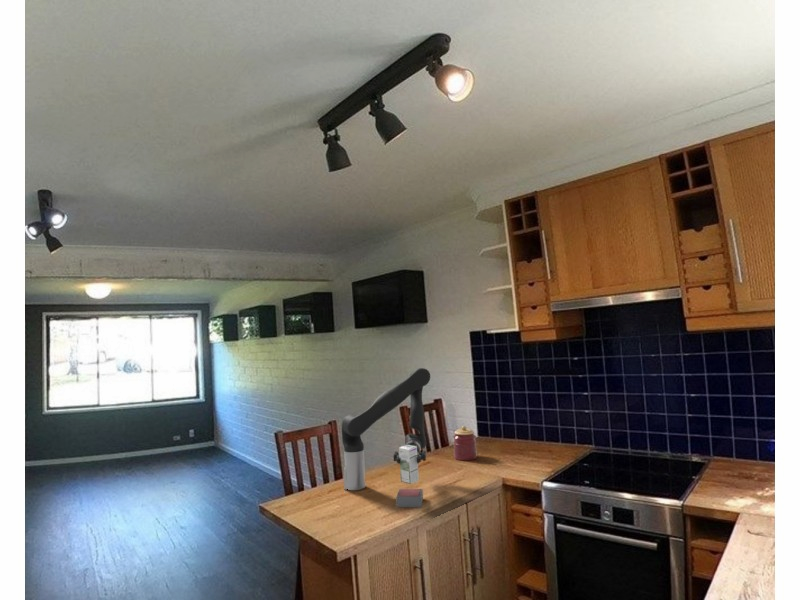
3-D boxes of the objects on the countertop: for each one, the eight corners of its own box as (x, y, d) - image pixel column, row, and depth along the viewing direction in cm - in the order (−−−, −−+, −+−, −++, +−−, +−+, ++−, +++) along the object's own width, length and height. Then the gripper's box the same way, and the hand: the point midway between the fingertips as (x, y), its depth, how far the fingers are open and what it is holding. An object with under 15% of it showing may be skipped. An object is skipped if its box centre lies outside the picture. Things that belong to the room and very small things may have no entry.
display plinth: (396, 507, 187) (396, 496, 187) (399, 498, 197) (399, 488, 197) (421, 507, 186) (420, 496, 186) (422, 498, 196) (422, 488, 196)
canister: (470, 462, 248) (468, 429, 249) (449, 459, 255) (448, 427, 257) (481, 456, 258) (479, 424, 259) (461, 453, 266) (459, 422, 267)
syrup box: (419, 480, 193) (417, 445, 194) (410, 484, 188) (408, 449, 189) (409, 478, 196) (407, 444, 197) (400, 482, 192) (398, 447, 193)
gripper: (396, 442, 208) (390, 452, 192) (427, 441, 206) (424, 451, 190) (397, 459, 208) (391, 470, 192) (428, 458, 206) (425, 470, 190)
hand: (408, 461), depth 191 cm, fingers closed on syrup box, 7 cm apart
